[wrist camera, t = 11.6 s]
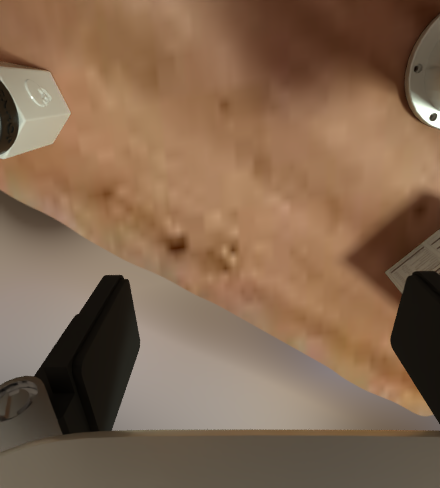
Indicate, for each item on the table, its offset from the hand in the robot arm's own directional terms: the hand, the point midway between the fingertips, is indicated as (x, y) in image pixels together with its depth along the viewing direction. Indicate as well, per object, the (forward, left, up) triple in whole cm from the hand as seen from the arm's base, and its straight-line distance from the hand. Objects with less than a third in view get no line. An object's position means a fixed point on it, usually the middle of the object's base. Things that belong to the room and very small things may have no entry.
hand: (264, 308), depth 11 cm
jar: (+24, -6, -31) cm, 39 cm away
